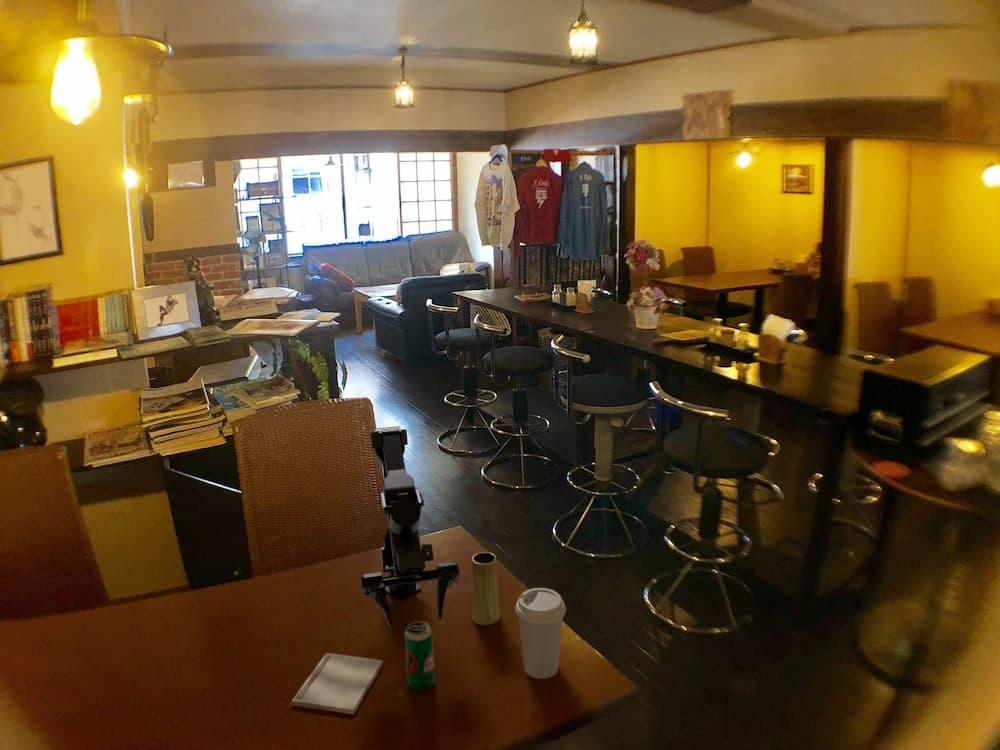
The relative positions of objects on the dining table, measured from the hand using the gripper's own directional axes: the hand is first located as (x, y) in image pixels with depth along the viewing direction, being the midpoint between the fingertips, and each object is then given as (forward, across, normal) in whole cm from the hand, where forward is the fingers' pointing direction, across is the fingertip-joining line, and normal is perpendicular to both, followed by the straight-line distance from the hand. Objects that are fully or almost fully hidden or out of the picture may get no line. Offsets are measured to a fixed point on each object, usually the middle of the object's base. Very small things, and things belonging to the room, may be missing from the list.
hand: (416, 623), depth 139 cm
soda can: (+10, 0, +5) cm, 11 cm away
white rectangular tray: (+7, -15, +8) cm, 18 cm away
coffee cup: (+11, +23, +4) cm, 26 cm away
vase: (-2, +16, +18) cm, 24 cm away
